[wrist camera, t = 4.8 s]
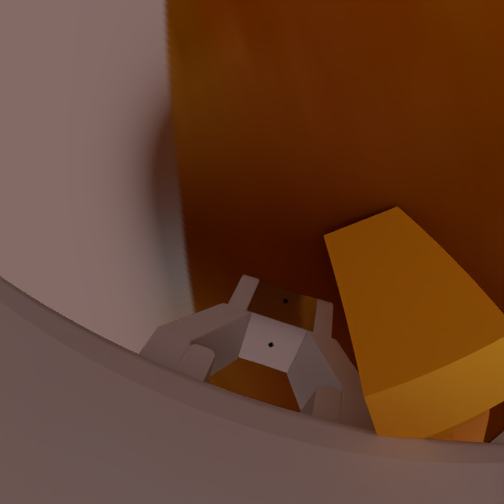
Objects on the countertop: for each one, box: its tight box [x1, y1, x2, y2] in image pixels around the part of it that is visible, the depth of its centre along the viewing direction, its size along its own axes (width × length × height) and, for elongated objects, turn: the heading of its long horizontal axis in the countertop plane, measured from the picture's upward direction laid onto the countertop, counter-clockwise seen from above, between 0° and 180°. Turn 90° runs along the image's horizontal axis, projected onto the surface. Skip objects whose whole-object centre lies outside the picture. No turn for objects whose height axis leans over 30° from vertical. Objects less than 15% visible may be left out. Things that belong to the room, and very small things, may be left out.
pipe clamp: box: [323, 206, 504, 442], centre depth 8 cm, size 12×4×6 cm, turn 26°
